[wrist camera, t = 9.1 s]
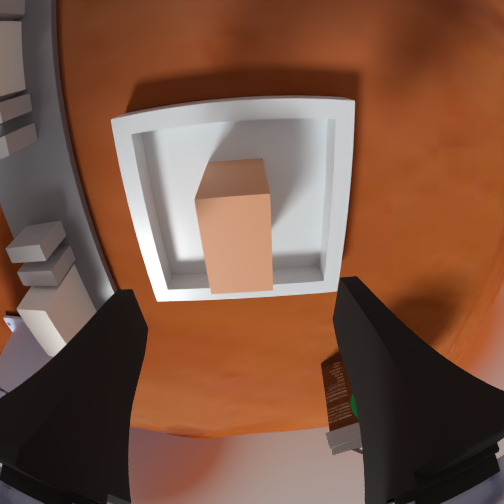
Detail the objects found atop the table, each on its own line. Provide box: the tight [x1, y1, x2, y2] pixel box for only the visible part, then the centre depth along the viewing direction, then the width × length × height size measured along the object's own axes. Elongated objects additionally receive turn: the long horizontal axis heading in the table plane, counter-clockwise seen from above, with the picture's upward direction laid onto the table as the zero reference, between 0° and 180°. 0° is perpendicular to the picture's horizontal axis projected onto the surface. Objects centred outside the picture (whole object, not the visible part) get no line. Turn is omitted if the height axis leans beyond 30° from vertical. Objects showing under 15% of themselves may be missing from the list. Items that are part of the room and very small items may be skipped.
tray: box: [111, 95, 355, 301], centre depth 17 cm, size 12×12×2 cm
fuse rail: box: [0, 0, 117, 311], centre depth 14 cm, size 28×8×4 cm, turn 3°
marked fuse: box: [194, 158, 273, 294], centre depth 15 cm, size 5×3×5 cm, turn 4°
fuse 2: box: [17, 264, 97, 357], centre depth 18 cm, size 5×3×5 cm, turn 3°
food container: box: [321, 355, 363, 455], centre depth 24 cm, size 12×6×10 cm, turn 45°
